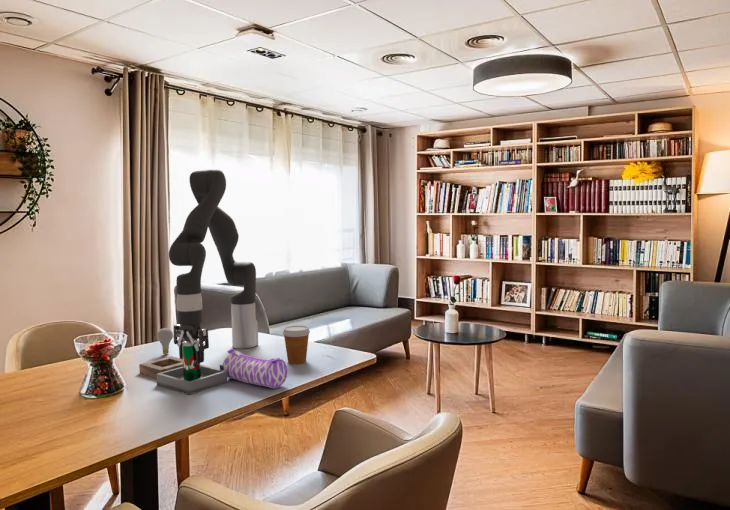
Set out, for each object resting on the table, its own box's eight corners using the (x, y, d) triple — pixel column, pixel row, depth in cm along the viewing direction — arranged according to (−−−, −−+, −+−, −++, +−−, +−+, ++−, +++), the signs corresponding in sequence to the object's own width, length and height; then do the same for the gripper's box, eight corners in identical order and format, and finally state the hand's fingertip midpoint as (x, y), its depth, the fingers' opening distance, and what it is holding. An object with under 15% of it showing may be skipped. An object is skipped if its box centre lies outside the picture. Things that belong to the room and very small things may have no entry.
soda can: (203, 377, 167) (201, 339, 167) (196, 382, 162) (194, 342, 161) (188, 377, 168) (186, 339, 167) (180, 382, 163) (178, 343, 162)
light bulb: (176, 353, 201) (175, 327, 201) (165, 357, 196) (164, 330, 196) (165, 352, 204) (164, 326, 203) (154, 355, 199) (153, 328, 198)
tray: (195, 373, 175) (195, 363, 175) (227, 382, 166) (227, 371, 165) (156, 385, 164) (156, 373, 164) (189, 394, 154) (188, 382, 154)
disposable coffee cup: (278, 364, 185) (277, 329, 184) (292, 357, 194) (291, 324, 193) (302, 366, 182) (301, 331, 181) (315, 359, 190) (314, 326, 190)
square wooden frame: (171, 364, 186) (171, 356, 186) (193, 370, 179) (192, 361, 179) (139, 373, 176) (139, 364, 176) (161, 379, 169) (160, 370, 169)
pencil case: (219, 380, 168) (218, 351, 167) (241, 373, 175) (240, 345, 175) (269, 393, 155) (269, 361, 154) (291, 385, 163) (291, 354, 162)
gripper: (214, 308, 162) (216, 361, 163) (185, 304, 170) (187, 354, 171) (193, 312, 156) (195, 367, 157) (164, 307, 164) (167, 359, 165)
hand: (191, 360), depth 164 cm, fingers open, 8 cm apart
